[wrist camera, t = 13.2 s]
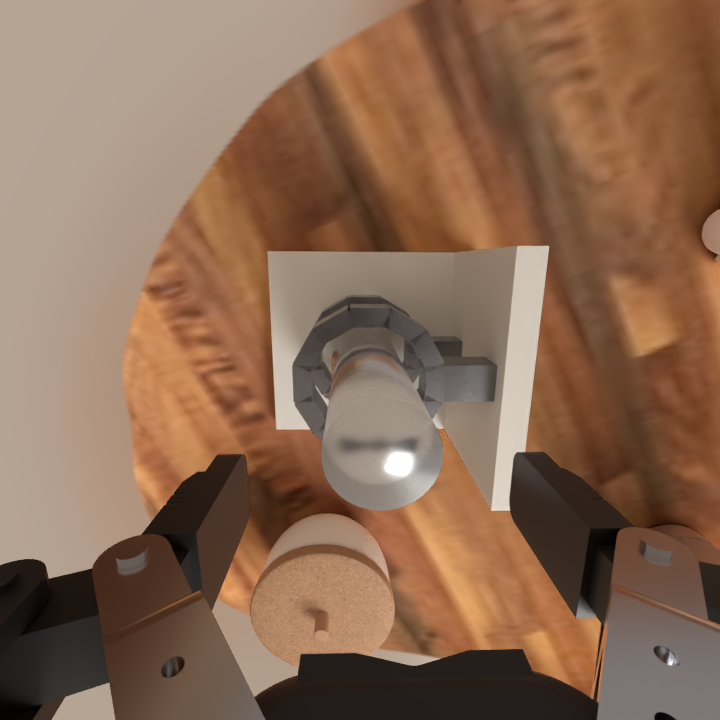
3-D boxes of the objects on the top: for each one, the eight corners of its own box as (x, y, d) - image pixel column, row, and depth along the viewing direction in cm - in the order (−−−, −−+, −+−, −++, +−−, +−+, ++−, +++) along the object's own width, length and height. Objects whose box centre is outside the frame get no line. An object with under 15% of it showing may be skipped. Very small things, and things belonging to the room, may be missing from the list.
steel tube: (389, 320, 30) (446, 398, 12) (388, 370, 31) (439, 509, 13) (336, 320, 30) (316, 398, 12) (336, 370, 31) (319, 511, 13)
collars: (453, 400, 30) (493, 452, 22) (310, 400, 30) (295, 453, 21) (461, 295, 28) (507, 308, 20) (307, 294, 28) (289, 307, 19)
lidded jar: (327, 468, 34) (319, 542, 25) (409, 541, 36) (429, 634, 27) (246, 542, 36) (211, 637, 27) (329, 608, 38) (322, 717, 29)
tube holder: (465, 421, 34) (531, 510, 21) (279, 422, 33) (239, 513, 21) (478, 253, 30) (565, 246, 18) (271, 251, 30) (217, 243, 18)
